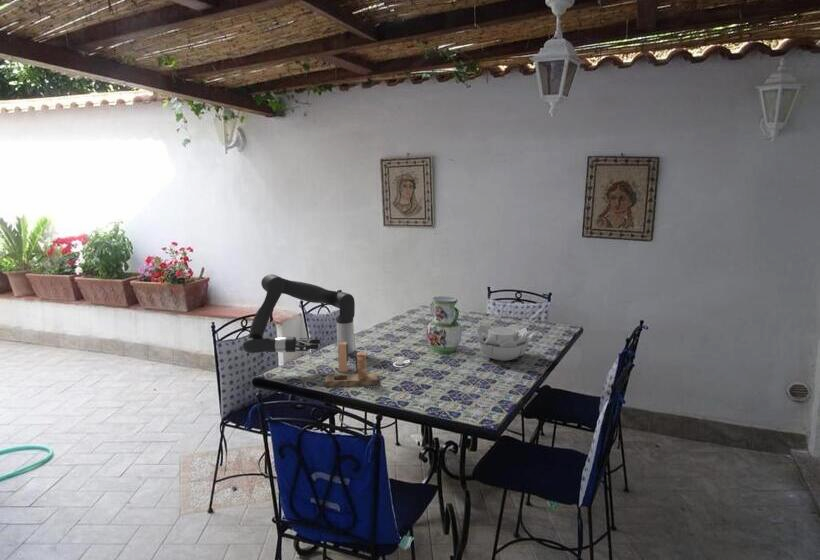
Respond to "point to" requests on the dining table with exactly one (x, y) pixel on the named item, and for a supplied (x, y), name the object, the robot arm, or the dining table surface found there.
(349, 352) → the robot arm
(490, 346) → the decorative bowl
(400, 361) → the teacup and saucer
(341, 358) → the tall tan pillar block
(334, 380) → the rail
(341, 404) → the dining table surface
